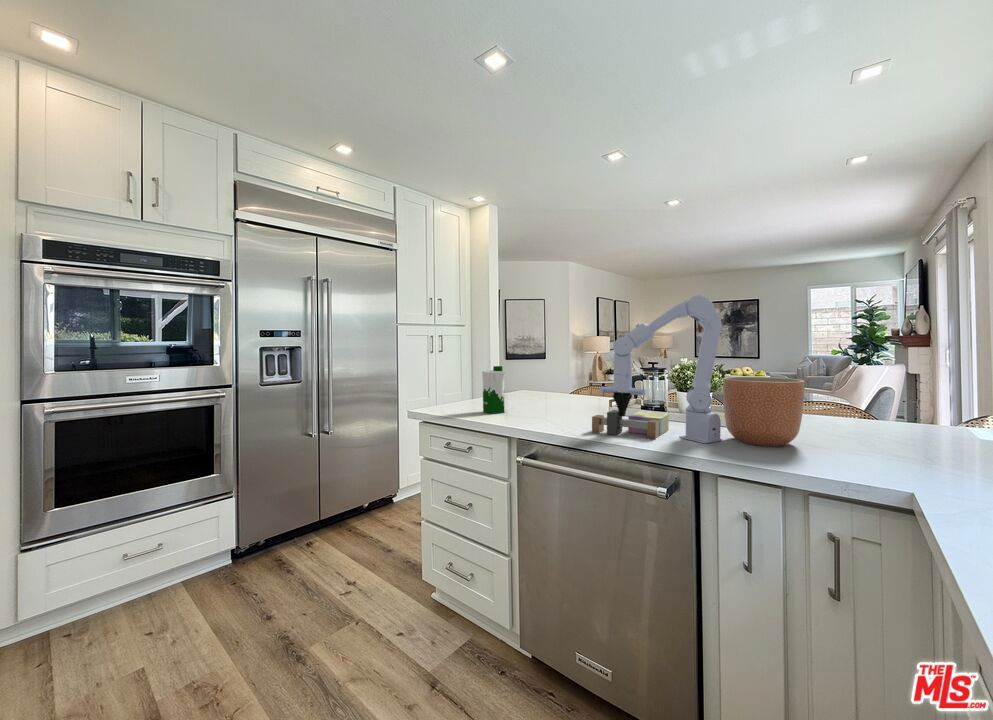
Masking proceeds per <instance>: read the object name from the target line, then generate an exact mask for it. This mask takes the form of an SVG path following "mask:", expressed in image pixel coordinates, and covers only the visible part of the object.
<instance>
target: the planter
mask: <svg viewBox="0 0 993 720" xmlns="http://www.w3.org/2000/svg"><path fill="white" fill-rule="evenodd" d="M805 382H806V381H805V380H804V379H798V378H791V377H790V378H789V377H775V376H774V377H773V376H726V377H723V378H722V401H723V413H724V416H723V417H724V421H725V426H726V429H727V432H728V433H730V435H731V436H732V437H733V438H735V439H736V440H737V441H739V442H741V443H745V444H749V445H754V446H762V447H763V446H764V447H779V446H780V447H781V446H785V445H788V444H789V443H791V442H792V441H794V439H795V438H797V437H798V434H799V432H800V429H801V425H802V419H803V414H804V413H803V412H804V411H803V410H804V402H805V386H806V385H805V384H806V383H805Z"/></svg>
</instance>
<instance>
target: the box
mask: <svg viewBox="0 0 993 720" xmlns="http://www.w3.org/2000/svg"><path fill="white" fill-rule="evenodd" d="M669 415H670V414H669V413H660V412H650V411H640V410H639V411H637V412H635V413H632V414H630V415H628V418H627V419H630V420H641V421H650V420H651V419H652V420H659V436H662V434H664V433H666V432H667V431H668V430H669V429H670V428H669V426H670V425H669V424H670V422H669V420H670V418H669V417H670V416H669ZM627 428H628V429H627V430H628V433H633V434H642V435H647V429H640V428H630V427H627Z"/></svg>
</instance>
